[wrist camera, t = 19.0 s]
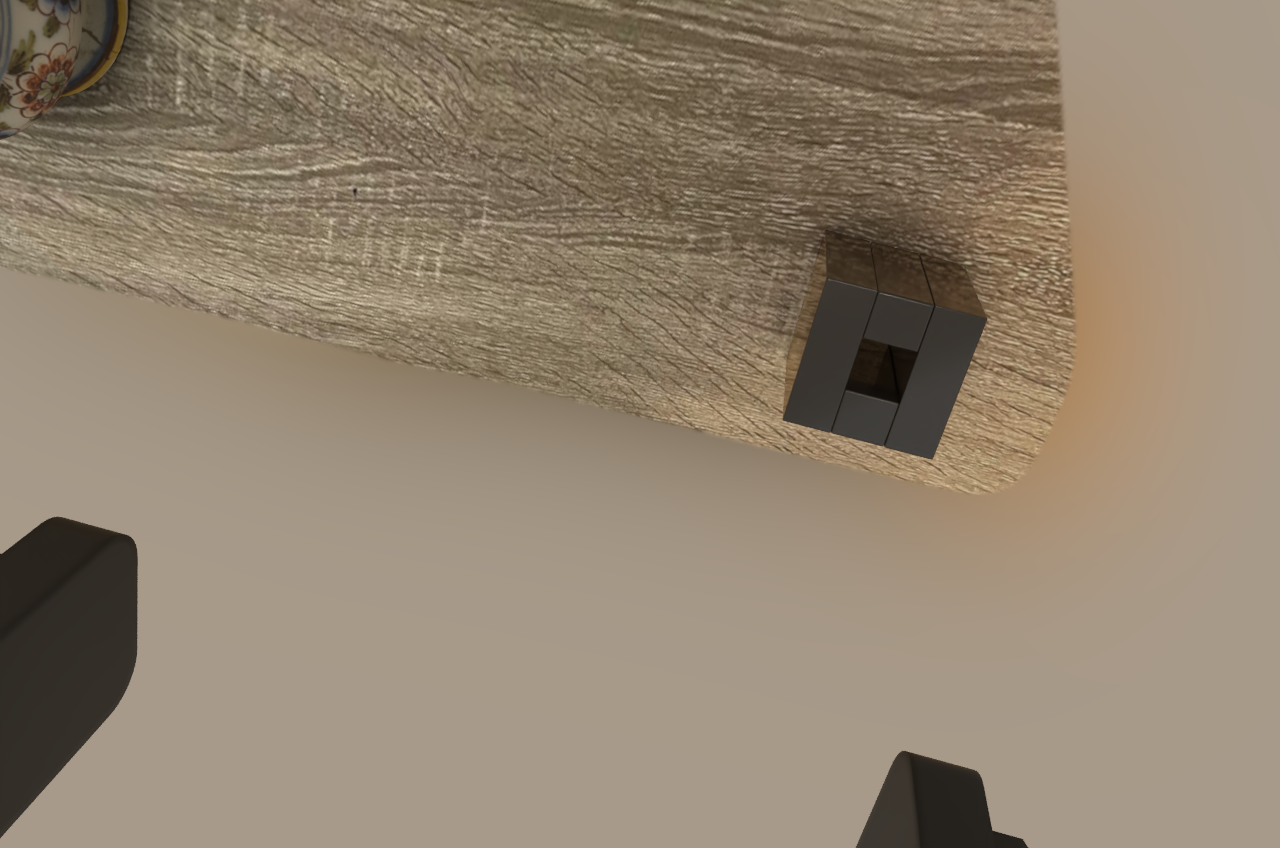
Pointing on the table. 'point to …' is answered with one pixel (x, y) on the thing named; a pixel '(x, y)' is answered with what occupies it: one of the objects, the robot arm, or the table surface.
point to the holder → (881, 345)
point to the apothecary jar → (53, 53)
